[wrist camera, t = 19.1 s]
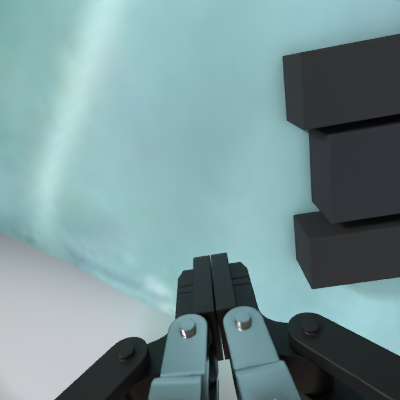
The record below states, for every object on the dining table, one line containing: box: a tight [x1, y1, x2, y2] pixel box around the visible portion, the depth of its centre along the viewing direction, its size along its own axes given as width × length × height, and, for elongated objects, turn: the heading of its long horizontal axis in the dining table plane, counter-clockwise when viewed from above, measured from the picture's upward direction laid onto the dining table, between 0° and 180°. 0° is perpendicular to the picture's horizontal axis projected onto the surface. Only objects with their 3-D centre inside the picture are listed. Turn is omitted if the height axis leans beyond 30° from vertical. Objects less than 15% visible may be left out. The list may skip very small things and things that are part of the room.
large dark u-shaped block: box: [283, 34, 400, 289], centre depth 21 cm, size 11×16×4 cm
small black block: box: [309, 114, 400, 224], centre depth 21 cm, size 6×6×4 cm
